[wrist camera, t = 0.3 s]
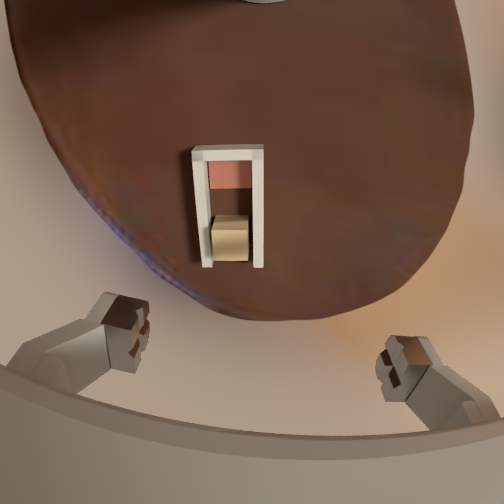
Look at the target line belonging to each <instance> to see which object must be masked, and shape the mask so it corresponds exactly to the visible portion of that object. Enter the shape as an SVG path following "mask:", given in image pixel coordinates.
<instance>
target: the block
mask: <svg viewBox="0 0 504 504" xmlns="http://www.w3.org/2000/svg"><path fill="white" fill-rule="evenodd" d="M211 232H212V244H213V256H214V260H228V261H248V252H249V215H216V216H215V220H214V223H213V226H212V230H211Z"/></svg>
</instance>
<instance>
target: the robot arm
mask: <svg viewBox="0 0 504 504" xmlns="http://www.w3.org/2000/svg"><path fill="white" fill-rule="evenodd" d="M244 1H248V2H254V3H274V2H279V1H283V0H244ZM148 314H149V303H148V301H145V300H140V299H135V298H131V297H127V296H123V295H118V294H114V293H109V292H105V293H103V294H102V295H101V297H100V298H99V300H98V301H97V302H96V304H95V305H94V307H93V308H92V309H91V311H90V312H89V314H88V315H87V317H86V318H85V319H84V320H83V319H79V320H76V321H74V322H72V323H69V324H67V325H65V326H62V327H60V328H58V329H55V330H53V331H51V332H48V333H46V334H44V335H41V336H39V337H37V338H34V339H32V340H30V341H27V342H25V343H23V344H22V346H21V347H20V348H19V349H18V351H17V352H16V353H15V355H14V356H13V357H12V359H11V360H10V362H9V363H8V364H7V366H3V365H1V364H0V504H504V417H503V418H501V417H500V415H499V413H498V411H497V410H496V408H495V406H494V404H493V402H492V401H491V399H490V397H489V396H487V395H486V394H485V393H483V392H482V391H480V390H479V389H478V388H477V387H475V386H474V385H473V384H471V383H470V382H469V381H467V380H466V379H465V378H463V377H462V376H461V375H459V374H458V373H456V372H455V371H454V370H452V369H451V368H450V367H448V366H444V365H443V363H442V361H441V359H440V358H439V356H438V354H437V352H436V350H435V349H434V347H433V345H432V343H431V342H430V340H429V339H428V338H427V337H421V336H415V337H410V336H395V335H391V336H390V337H389V338H388V339H387V341H386V343H385V346H386V349H385V350H384V351H383V352H381V353H380V354H379V357H378V359H377V361H376V367H375V369H376V375H377V378H378V379H379V380H380V381H381V382H382V383H383V384H382V386H381V390H382V393H383V396H384V399H385V401H386V402H405V403H406V404H407V405H408V406H409V408H410V409H411V410H412V411H413V412H414V413H415V414H416V415H417V416H418V417H419V418H420V420H421V421H422V422H423V423H424V424H425V425H426V426H427V427H428V428H429V429H430V430H429V431H420V432H411V433H399V434H386V435H363V436H311V435H310V436H309V435H289V434H274V433H262V432H252V431H243V430H234V429H226V428H219V427H212V426H206V425H200V424H194V423H188V422H182V421H177V420H172V419H167V418H163V417H158V416H153V415H149V414H145V413H140V412H136V411H132V410H129V409H125V408H121V407H117V406H113V405H110V404H107V403H103V402H100V401H96V400H93V399H90V398H87V397H84V396H81V395H77V393H78V392H80V391H81V390H83V389H84V388H85V387H87V386H88V385H90V384H91V383H92V382H94V381H95V380H97V379H98V378H99V377H101V376H102V375H104V373H106V372H108V371H109V370H110V368H112V369H116V370H120V371H125V372H130V373H134V374H135V373H136V371H137V368H138V366H139V363H140V361H141V352H142V351H144V350H145V348H146V346H147V342H148V338H149V330H150V324H149V321H148V320H147V319H146V318H147V316H148Z"/></svg>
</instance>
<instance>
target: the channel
mask: <svg viewBox="0 0 504 504" xmlns="http://www.w3.org/2000/svg"><path fill="white" fill-rule="evenodd" d="M191 153H192V166H193V178H194V189H195V200H196V211H197V221H198V230H199V240H200V249H201V258H202V267H212V265H213V261H214V256H213V244H212V232H211V230H212V223H211V210H210V197H209V183H208V168H207V161H208V162H209V178H210V189H219V188H251V160H252V196H253V264H254V268H263V144H236V145H204V146H195V147H194V148H193V150H192V151H191Z"/></svg>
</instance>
